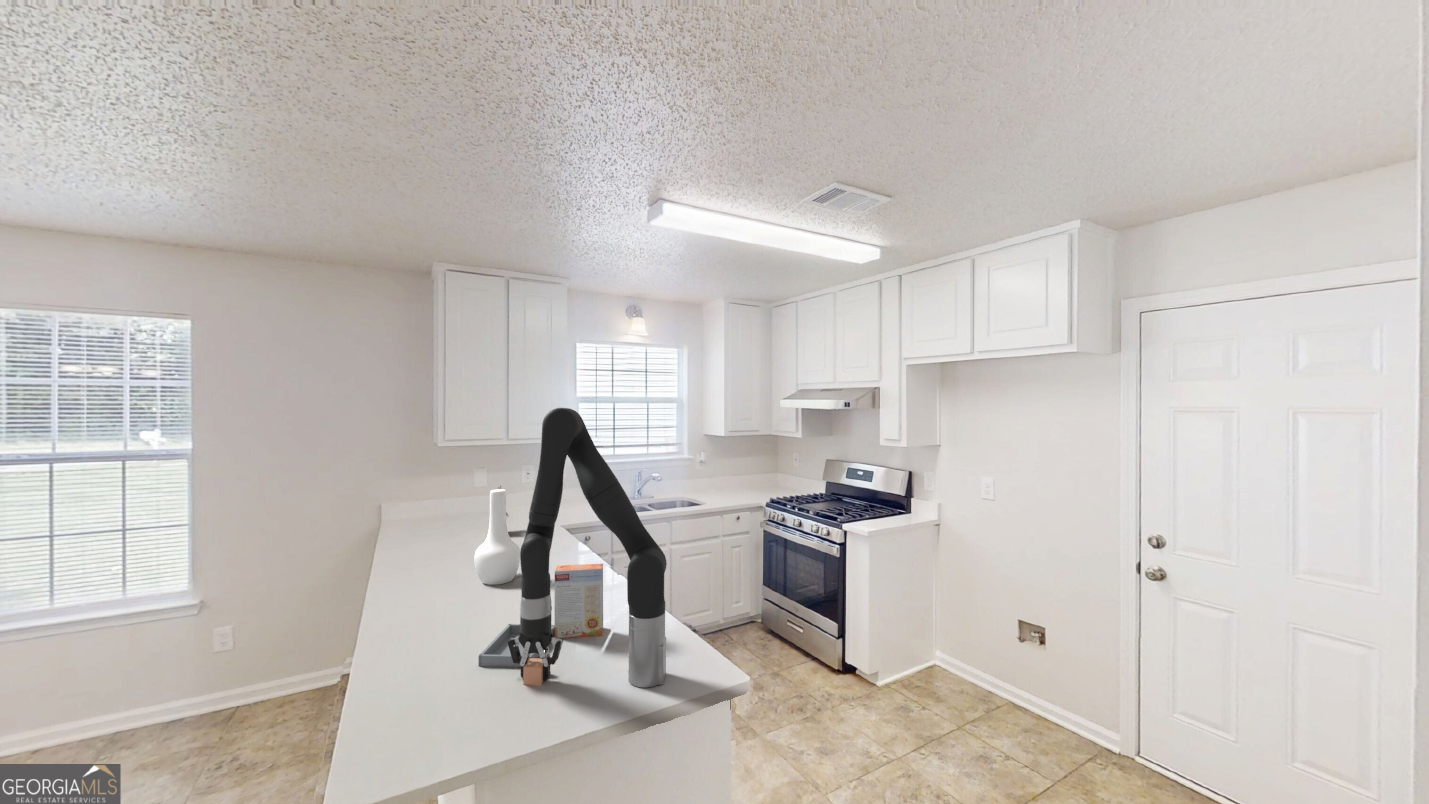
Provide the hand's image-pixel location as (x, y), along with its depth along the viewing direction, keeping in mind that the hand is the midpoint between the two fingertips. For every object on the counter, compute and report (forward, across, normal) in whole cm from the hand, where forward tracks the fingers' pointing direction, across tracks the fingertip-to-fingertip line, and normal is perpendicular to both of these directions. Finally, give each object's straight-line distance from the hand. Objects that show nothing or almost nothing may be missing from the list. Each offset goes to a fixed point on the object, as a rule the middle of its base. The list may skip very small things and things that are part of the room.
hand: (535, 678), depth 138 cm
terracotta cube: (0, 0, 0) cm, 0 cm away
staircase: (+1, -70, +139) cm, 155 cm away
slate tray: (0, -10, +15) cm, 18 cm away
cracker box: (+1, +4, +26) cm, 26 cm away
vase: (+1, -41, +73) cm, 84 cm away
